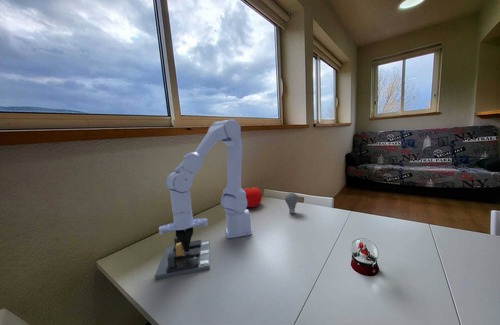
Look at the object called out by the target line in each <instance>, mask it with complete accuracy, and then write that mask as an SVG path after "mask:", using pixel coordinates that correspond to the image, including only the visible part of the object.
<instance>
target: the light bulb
mask: <svg viewBox="0 0 500 325" xmlns="http://www.w3.org/2000/svg"><path fill="white" fill-rule="evenodd" d="M284 199H285V203H286V204H287V207H288V210H289V213H290V214H292V213H293V214H295V213H296V209H295V208H296V205H297V203H298V202H299V197H298V195H297V194H296V193H294V192H288V193H287V194H286V195H285V197H284Z"/></svg>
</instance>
